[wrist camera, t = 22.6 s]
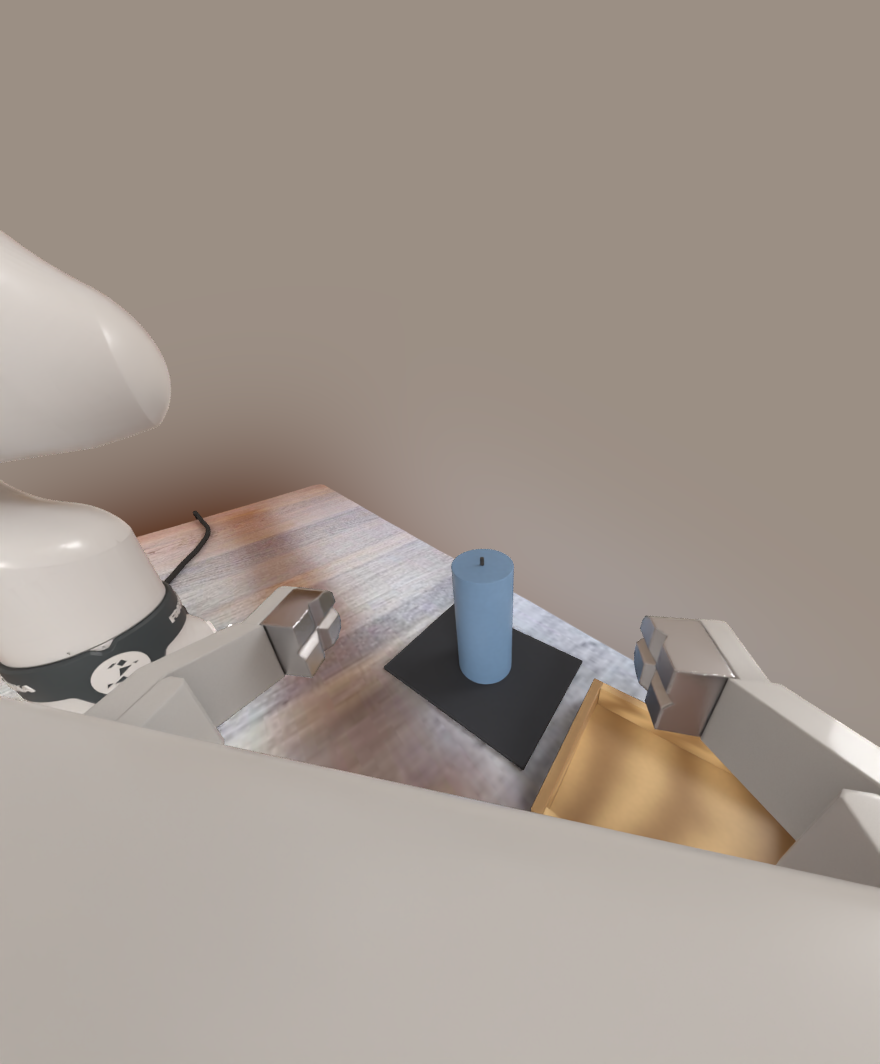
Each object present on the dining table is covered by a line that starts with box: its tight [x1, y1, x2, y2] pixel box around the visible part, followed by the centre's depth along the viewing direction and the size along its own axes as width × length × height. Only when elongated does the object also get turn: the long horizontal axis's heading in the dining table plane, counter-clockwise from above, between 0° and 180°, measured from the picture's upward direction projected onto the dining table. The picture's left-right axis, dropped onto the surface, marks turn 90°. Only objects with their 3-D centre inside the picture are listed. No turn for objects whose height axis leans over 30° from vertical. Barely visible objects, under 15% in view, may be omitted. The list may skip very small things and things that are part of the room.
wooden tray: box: [531, 678, 796, 865], centre depth 25 cm, size 16×14×3 cm
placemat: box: [384, 604, 582, 770], centre depth 39 cm, size 18×14×1 cm
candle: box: [451, 549, 514, 684], centre depth 36 cm, size 6×6×14 cm
